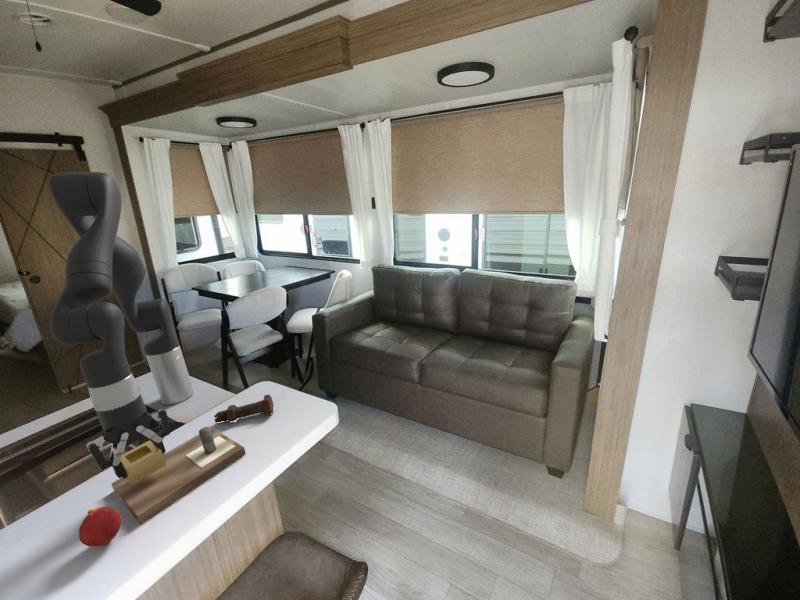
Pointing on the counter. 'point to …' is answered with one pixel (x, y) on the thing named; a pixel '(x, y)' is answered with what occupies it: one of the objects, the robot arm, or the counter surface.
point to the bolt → (245, 410)
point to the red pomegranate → (99, 526)
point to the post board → (179, 473)
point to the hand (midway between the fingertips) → (142, 465)
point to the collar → (142, 461)
